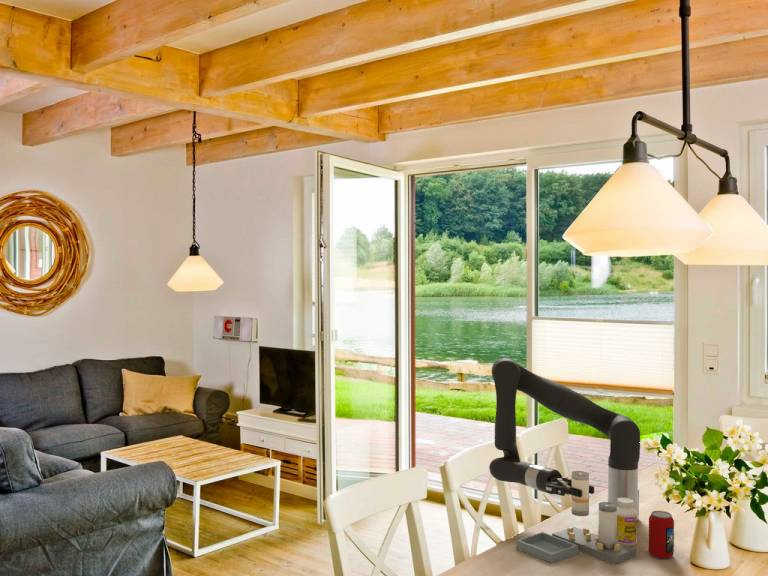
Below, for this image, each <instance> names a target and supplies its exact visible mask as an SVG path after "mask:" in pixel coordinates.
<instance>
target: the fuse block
mask: <svg viewBox="0 0 768 576" xmlns="http://www.w3.org/2000/svg"><path fill="white" fill-rule="evenodd" d="M551 535H552V536H554V537H557V538H560V539H562V540H565V541H568V542H570V543H573V544H575V545H578V552H582V553H584V554H587V555H589V556H592V557H593V558H594V557H595V558H597V559H599V560H603V561H605V562H607V563H610V564H613V565H616V564H618V562H619V563H621V562H623V561H626V559H627V560H630V559H632V558H635V557H636V556H637V549H636V548H634V547H633V546H626V545H624V544H621V543H618V539H617V544H615V545H614V549H613V550H607V549H603V544H601V543H598V534H596V533H592V532H590V529H589V528H587V527H583V529H581V528H578V527H576V526H569V527H567V528H566V529H562V530H559V531H557V532H556V531H555V532H552V533H551ZM615 563H616V564H615Z"/></svg>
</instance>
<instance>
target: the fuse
mask: <svg viewBox="0 0 768 576" xmlns="http://www.w3.org/2000/svg"><path fill="white" fill-rule="evenodd" d="M597 526H598V527H597V529H598V531H597V532H598V534H597V535H598V543H601V544H603V549H607V550H613V549H614V545H615V544H617V505H616V504H614V503H611V502H608V501H602V502H599V503H598V525H597Z"/></svg>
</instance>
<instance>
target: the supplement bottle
mask: <svg viewBox="0 0 768 576" xmlns="http://www.w3.org/2000/svg"><path fill="white" fill-rule="evenodd" d="M617 504H618V506H617V539H618V543H621V544H624V545H626V546H629V547H633V546H635V545H636V544H637V534H638V533H637V531H638V530H637V525H638V523H637V522H638V519H637V512H636V510H635V509H634V508H633V505H634V501H633V500H632V499H629V498H618V499H617Z"/></svg>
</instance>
